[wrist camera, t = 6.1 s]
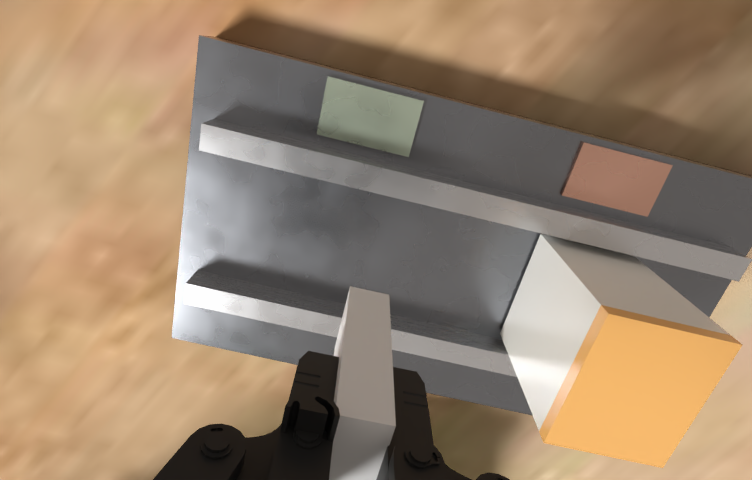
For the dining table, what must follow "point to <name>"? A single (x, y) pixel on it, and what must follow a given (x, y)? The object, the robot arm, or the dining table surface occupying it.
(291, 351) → the switch panel
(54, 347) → the dining table surface
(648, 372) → the knob
